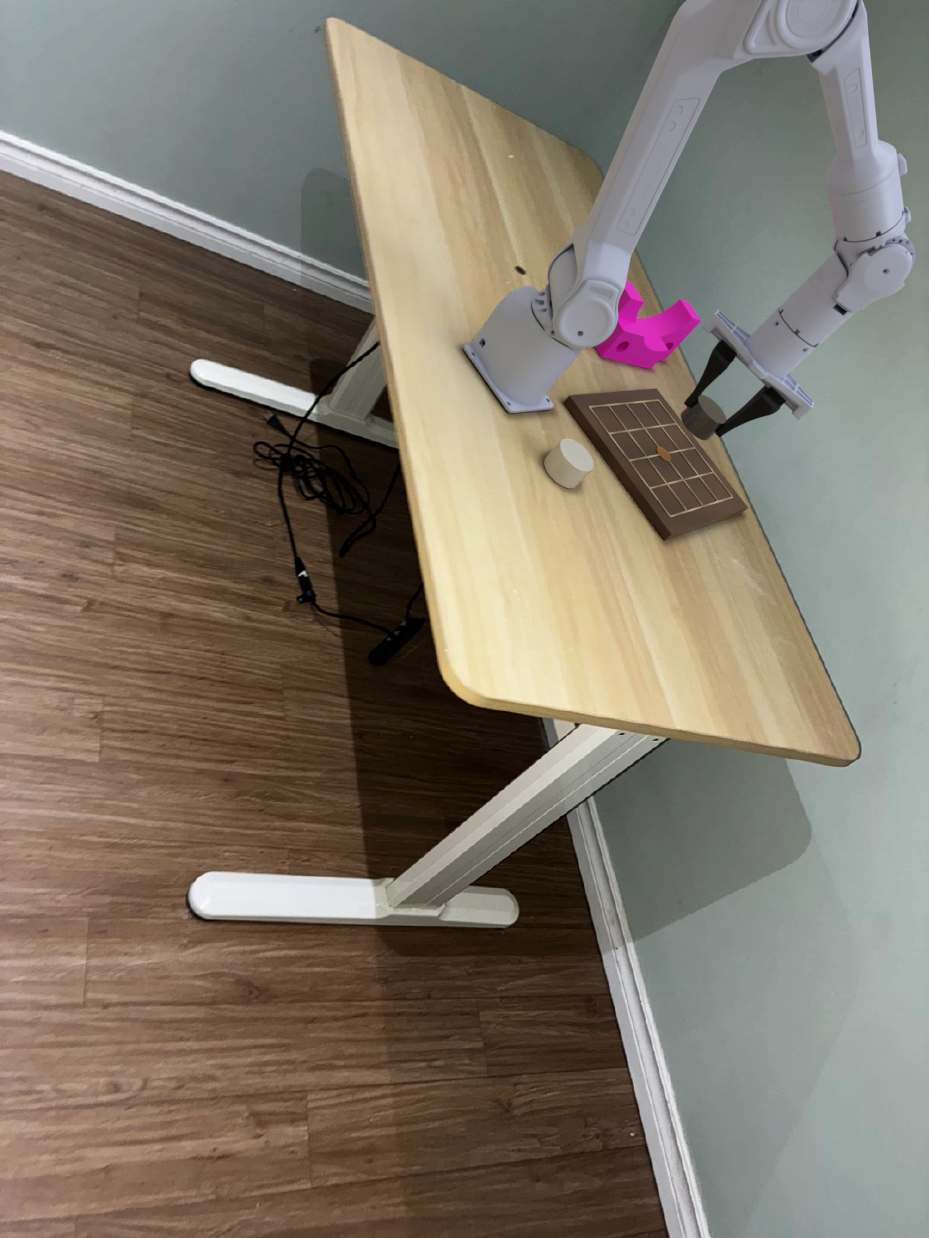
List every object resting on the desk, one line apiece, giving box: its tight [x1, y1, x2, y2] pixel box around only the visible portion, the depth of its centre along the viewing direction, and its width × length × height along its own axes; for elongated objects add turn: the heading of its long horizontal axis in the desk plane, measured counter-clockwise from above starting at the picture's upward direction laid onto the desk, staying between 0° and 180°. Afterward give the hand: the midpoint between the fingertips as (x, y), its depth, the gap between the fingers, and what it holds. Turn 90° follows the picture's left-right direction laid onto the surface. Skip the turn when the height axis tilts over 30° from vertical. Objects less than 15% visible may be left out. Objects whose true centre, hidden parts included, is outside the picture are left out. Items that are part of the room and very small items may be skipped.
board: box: [563, 387, 749, 541], centre depth 98 cm, size 20×20×1 cm
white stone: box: [543, 437, 595, 489], centre depth 85 cm, size 4×4×3 cm
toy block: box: [594, 280, 702, 370], centre depth 109 cm, size 15×6×8 cm, turn 115°
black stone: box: [680, 394, 728, 441], centre depth 93 cm, size 4×4×3 cm
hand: (703, 417), depth 93 cm, fingers closed on black stone, 4 cm apart
